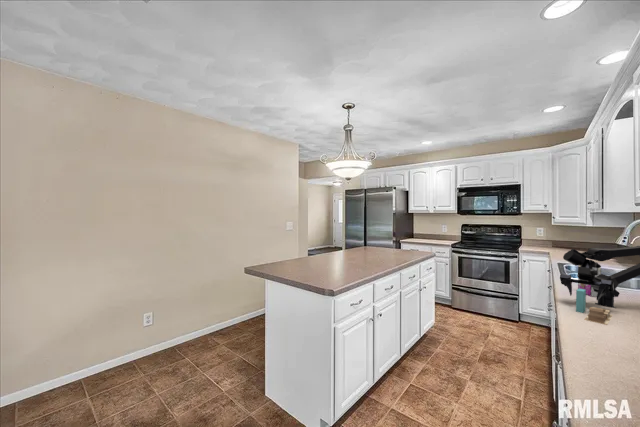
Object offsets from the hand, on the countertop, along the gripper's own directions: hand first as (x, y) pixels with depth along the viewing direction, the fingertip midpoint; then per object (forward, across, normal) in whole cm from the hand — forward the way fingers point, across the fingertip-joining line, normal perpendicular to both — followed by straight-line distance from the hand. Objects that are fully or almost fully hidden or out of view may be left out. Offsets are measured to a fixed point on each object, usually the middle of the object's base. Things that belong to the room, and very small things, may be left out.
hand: (583, 297), depth 134 cm
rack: (+11, +6, -1) cm, 12 cm away
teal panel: (+8, 0, +2) cm, 8 cm away
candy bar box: (-23, -2, +33) cm, 41 cm away
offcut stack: (+14, +6, -6) cm, 16 cm away
